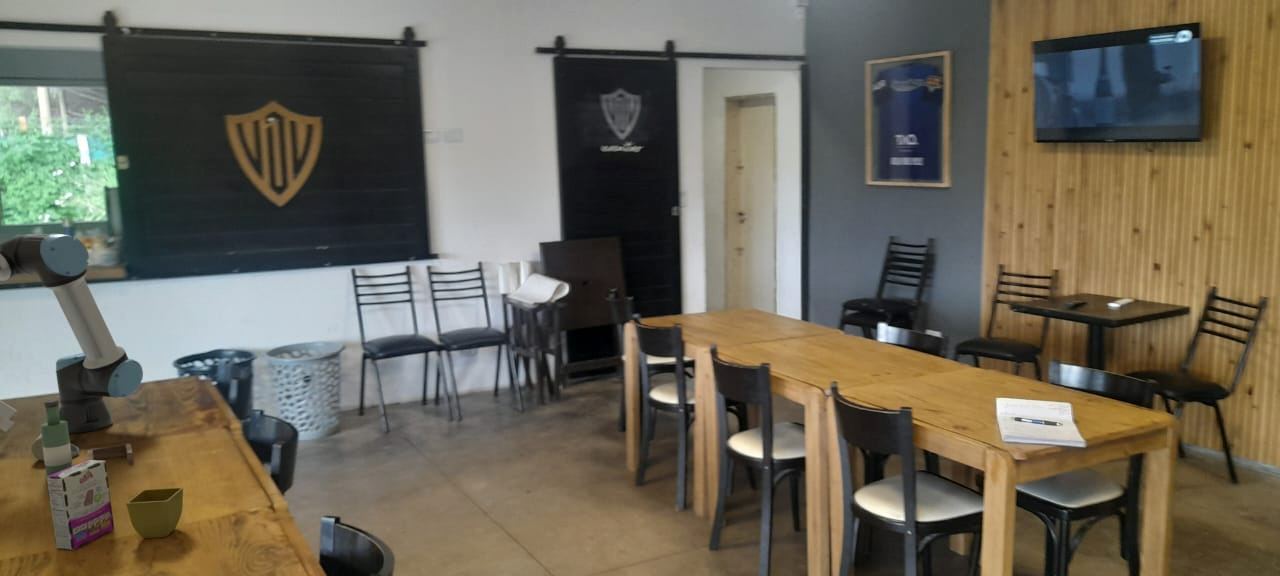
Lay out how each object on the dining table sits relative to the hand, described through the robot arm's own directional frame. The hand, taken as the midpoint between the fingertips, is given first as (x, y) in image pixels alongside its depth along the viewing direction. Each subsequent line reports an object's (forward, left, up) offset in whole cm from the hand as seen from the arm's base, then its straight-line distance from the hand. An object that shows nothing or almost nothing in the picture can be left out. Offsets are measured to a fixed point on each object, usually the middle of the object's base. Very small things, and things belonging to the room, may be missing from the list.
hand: (11, 421), depth 237 cm
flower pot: (+37, +54, -17) cm, 67 cm away
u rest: (-15, +16, -16) cm, 27 cm away
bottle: (-5, +8, -16) cm, 19 cm away
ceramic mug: (-21, -3, -17) cm, 27 cm away
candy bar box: (+39, +39, -17) cm, 57 cm away
